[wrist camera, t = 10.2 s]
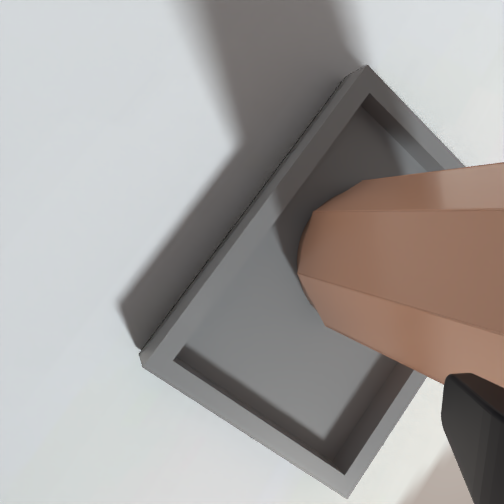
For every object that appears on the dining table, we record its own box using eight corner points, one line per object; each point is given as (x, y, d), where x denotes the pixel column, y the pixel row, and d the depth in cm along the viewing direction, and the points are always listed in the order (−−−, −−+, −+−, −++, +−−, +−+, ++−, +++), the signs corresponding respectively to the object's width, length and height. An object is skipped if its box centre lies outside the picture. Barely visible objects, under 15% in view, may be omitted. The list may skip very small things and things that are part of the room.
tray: (328, 478, 23) (347, 499, 21) (138, 353, 20) (142, 367, 18) (494, 226, 25) (523, 227, 23) (345, 76, 21) (367, 64, 20)
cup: (335, 356, 22) (651, 545, 9) (269, 233, 20) (536, 264, 8) (440, 280, 23) (834, 357, 11) (385, 161, 22) (765, 91, 9)
